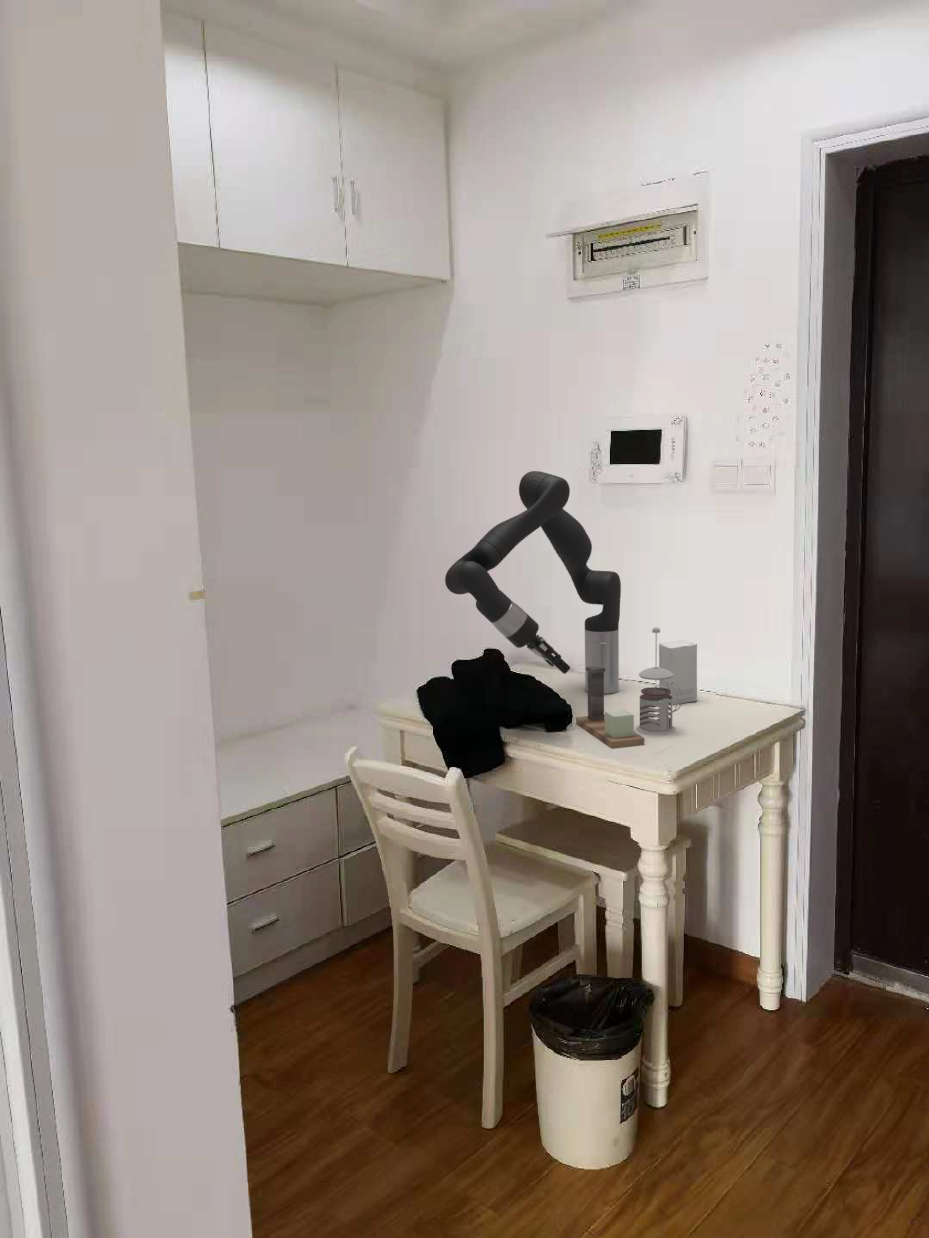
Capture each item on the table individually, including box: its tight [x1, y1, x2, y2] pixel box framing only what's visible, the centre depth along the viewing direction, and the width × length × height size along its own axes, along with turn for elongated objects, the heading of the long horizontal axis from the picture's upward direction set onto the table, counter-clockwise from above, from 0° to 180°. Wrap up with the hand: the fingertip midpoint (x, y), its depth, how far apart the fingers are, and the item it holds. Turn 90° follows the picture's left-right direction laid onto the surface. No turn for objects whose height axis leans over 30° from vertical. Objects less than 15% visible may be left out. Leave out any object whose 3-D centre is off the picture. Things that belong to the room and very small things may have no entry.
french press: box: [635, 626, 683, 736], centre depth 247 cm, size 10×12×25 cm
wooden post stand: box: [575, 665, 645, 749], centre depth 246 cm, size 22×8×14 cm, turn 15°
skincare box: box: [658, 639, 698, 706], centre depth 275 cm, size 8×7×16 cm
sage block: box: [604, 709, 635, 738], centre depth 241 cm, size 5×5×5 cm
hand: (561, 667), depth 250 cm, fingers open, 8 cm apart
